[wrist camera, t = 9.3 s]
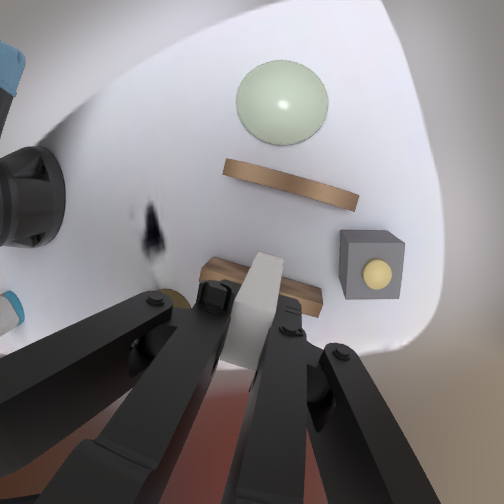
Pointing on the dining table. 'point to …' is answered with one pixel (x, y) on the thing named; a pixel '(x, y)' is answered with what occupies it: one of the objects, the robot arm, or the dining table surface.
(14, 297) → the cup
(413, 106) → the dining table surface
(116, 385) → the robot arm
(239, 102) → the saucer
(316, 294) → the guide channel
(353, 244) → the plug
